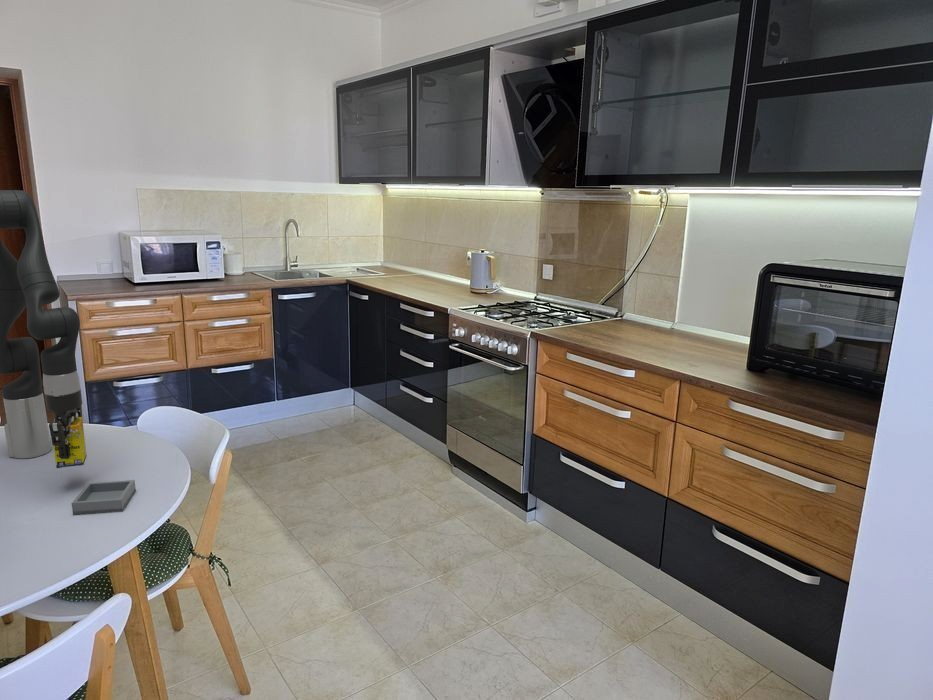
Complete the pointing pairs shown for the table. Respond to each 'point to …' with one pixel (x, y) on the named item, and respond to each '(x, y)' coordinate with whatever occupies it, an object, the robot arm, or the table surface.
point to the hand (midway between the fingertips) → (70, 451)
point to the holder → (104, 497)
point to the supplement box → (73, 446)
